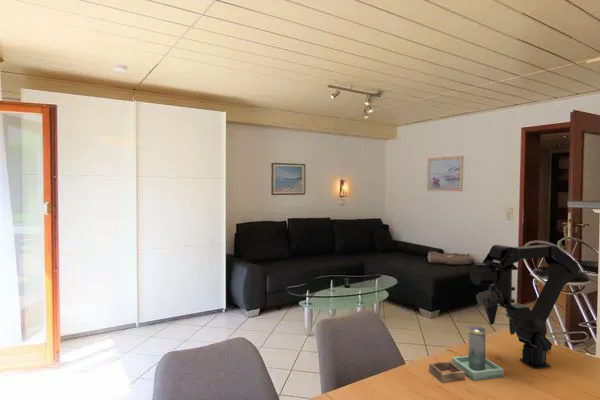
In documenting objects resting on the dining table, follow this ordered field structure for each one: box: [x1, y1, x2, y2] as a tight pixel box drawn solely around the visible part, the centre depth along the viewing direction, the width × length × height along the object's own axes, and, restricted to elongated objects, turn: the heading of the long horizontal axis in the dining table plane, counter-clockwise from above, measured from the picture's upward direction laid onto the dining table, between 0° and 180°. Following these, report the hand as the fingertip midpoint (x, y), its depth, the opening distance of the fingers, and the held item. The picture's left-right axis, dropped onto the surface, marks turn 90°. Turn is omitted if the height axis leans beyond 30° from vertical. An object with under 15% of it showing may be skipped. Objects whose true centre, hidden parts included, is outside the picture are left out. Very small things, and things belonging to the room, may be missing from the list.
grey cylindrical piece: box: [467, 325, 487, 371], centre depth 120 cm, size 5×5×13 cm
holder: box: [428, 360, 466, 384], centre depth 118 cm, size 8×8×2 cm
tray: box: [451, 355, 505, 382], centre depth 120 cm, size 11×11×2 cm
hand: (501, 329), depth 122 cm, fingers open, 9 cm apart
